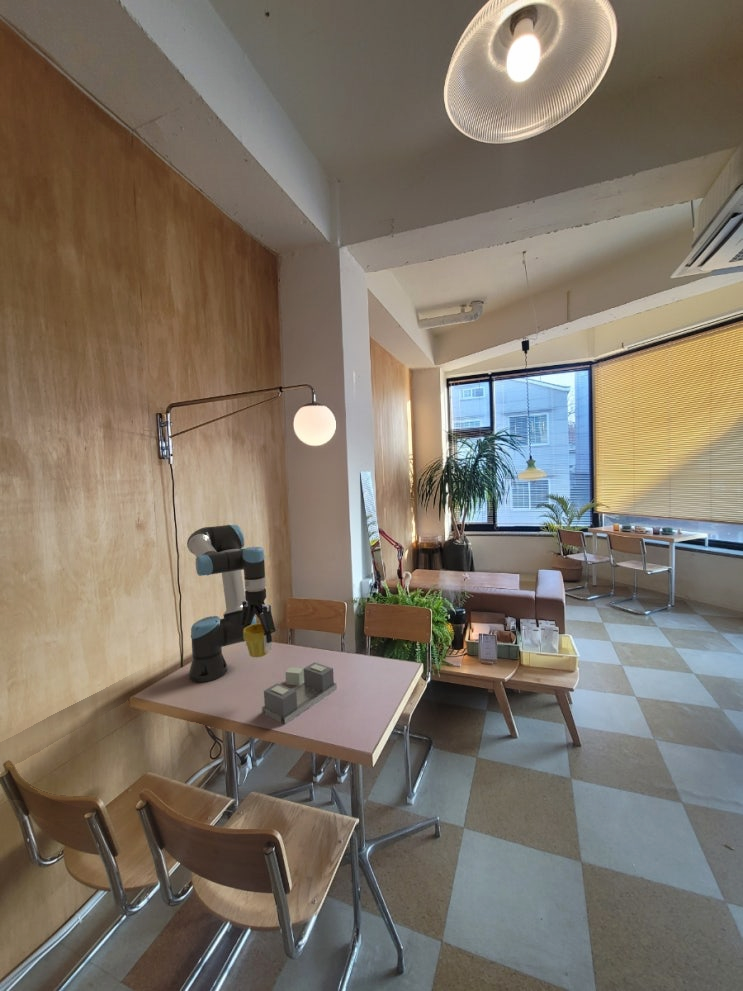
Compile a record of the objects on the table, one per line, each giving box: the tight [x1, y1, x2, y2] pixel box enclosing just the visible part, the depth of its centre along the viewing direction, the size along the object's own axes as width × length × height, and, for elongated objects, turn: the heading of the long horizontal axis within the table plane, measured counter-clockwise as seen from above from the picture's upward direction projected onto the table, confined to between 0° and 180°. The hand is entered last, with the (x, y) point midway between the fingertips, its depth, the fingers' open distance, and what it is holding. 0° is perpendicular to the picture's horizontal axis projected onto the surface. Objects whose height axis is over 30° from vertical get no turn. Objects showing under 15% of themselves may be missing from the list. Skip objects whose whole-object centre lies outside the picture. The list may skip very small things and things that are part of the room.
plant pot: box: [243, 622, 273, 658], centre depth 146 cm, size 10×10×10 cm
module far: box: [303, 662, 335, 690], centre depth 152 cm, size 10×6×6 cm, turn 54°
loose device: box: [285, 667, 304, 686], centre depth 158 cm, size 6×4×5 cm, turn 74°
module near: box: [263, 683, 297, 716], centre depth 136 cm, size 10×6×6 cm, turn 54°
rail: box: [261, 681, 338, 725], centre depth 144 cm, size 12×26×2 cm, turn 144°
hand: (258, 647), depth 146 cm, fingers closed on plant pot, 10 cm apart
